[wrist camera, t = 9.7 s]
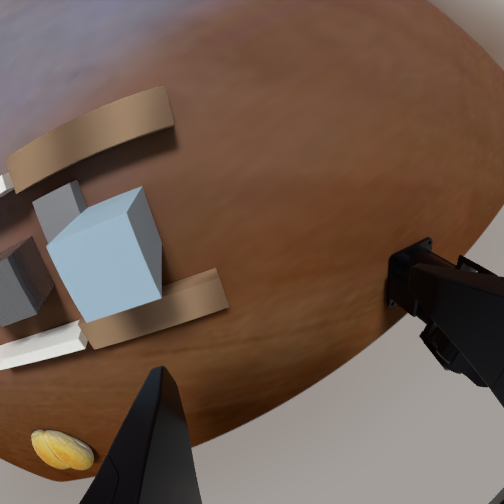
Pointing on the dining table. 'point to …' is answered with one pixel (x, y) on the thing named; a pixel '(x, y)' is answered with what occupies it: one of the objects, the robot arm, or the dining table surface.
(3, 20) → the dining table surface
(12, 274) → the block
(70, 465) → the bread roll
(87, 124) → the slot rails
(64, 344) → the white bevelled strip
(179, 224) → the dining table surface
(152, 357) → the dining table surface
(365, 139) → the dining table surface
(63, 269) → the light blue block
